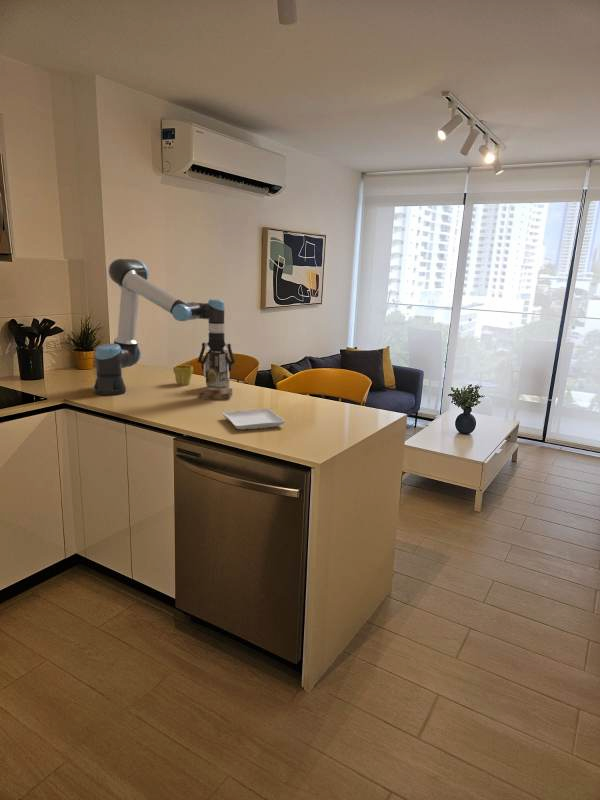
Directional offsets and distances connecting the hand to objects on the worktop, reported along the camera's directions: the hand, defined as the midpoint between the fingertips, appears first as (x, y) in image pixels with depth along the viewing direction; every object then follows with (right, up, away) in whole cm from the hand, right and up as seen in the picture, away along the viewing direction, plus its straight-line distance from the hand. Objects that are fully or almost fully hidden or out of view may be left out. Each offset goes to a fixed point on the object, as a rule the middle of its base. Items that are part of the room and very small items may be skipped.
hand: (216, 377), depth 263 cm
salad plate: (+21, -21, -41) cm, 51 cm away
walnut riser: (0, -9, +2) cm, 10 cm away
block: (-2, -5, +21) cm, 22 cm away
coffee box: (0, -4, +1) cm, 4 cm away
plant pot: (-22, -3, +28) cm, 36 cm away
